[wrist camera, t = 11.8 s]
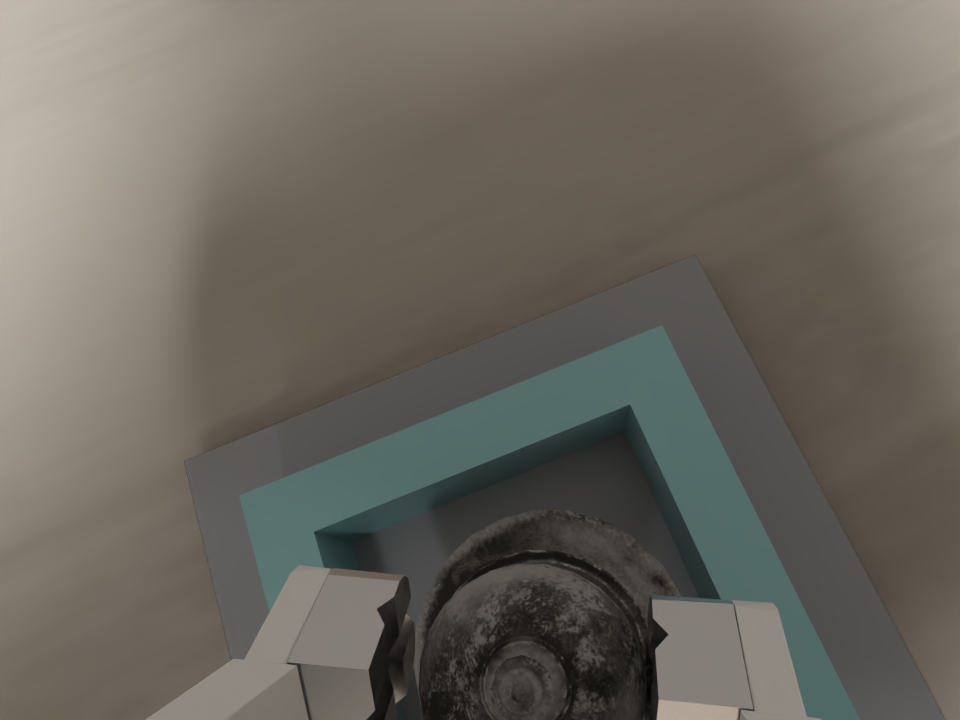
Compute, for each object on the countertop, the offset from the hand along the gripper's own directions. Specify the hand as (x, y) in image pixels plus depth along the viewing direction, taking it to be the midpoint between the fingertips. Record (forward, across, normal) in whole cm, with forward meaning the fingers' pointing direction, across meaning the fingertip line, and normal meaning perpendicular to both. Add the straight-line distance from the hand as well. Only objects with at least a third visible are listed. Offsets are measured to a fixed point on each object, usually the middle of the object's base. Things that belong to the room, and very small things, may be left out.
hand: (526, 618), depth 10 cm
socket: (+7, 0, +8) cm, 11 cm away
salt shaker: (+6, 0, +8) cm, 10 cm away
